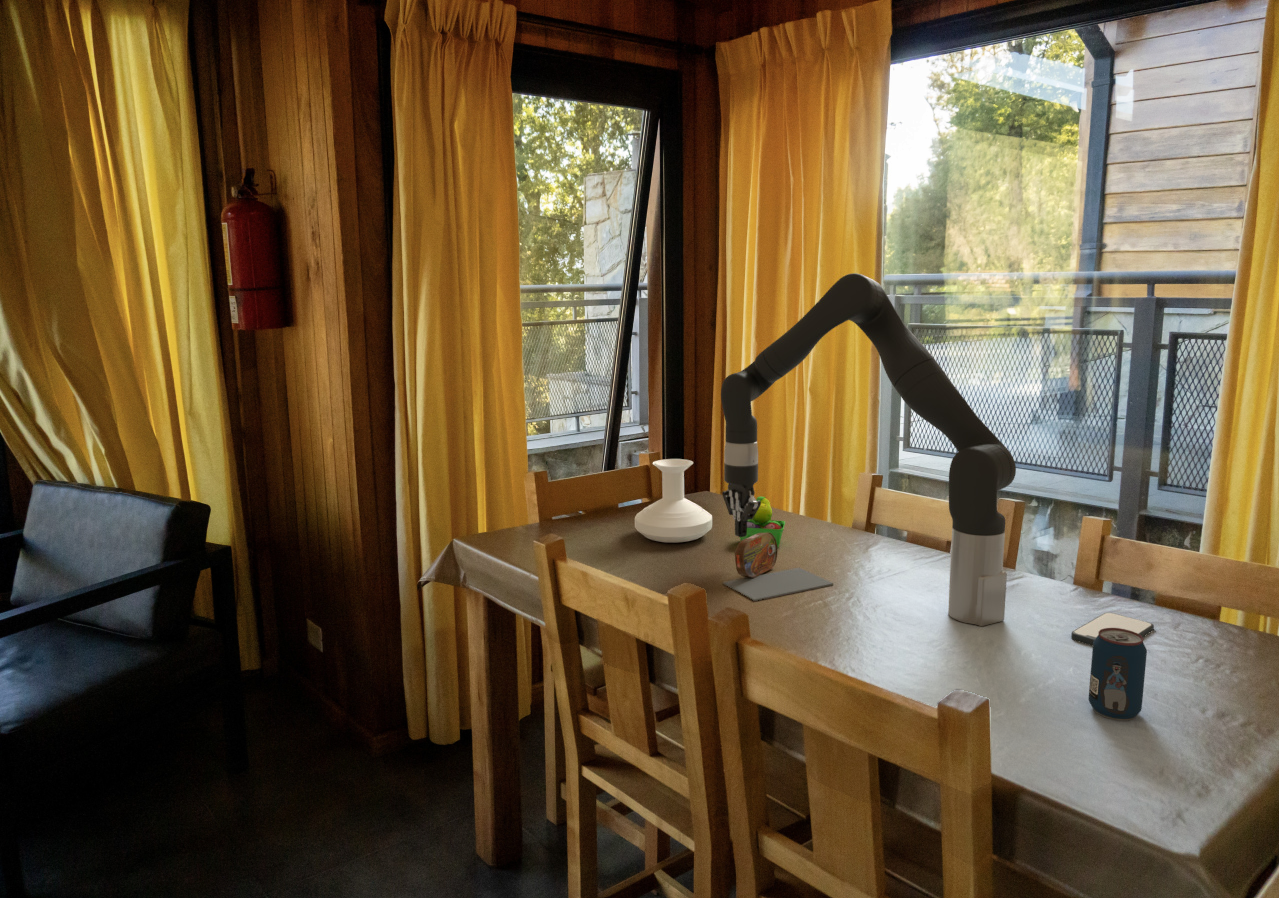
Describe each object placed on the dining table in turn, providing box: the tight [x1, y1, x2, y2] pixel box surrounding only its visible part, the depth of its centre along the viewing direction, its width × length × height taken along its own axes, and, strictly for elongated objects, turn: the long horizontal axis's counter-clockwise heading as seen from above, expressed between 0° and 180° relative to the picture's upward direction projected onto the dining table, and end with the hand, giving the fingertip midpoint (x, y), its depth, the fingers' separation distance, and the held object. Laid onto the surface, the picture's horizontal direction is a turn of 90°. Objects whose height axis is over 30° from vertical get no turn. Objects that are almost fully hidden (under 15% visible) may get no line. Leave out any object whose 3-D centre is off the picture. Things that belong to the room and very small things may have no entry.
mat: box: [722, 567, 834, 602], centre depth 186 cm, size 12×20×1 cm, turn 116°
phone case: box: [1070, 612, 1155, 646], centre depth 158 cm, size 9×2×16 cm
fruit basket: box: [739, 496, 786, 548], centre depth 215 cm, size 11×9×11 cm
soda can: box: [1088, 628, 1148, 722], centre depth 128 cm, size 7×7×12 cm
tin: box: [734, 533, 778, 578], centre depth 193 cm, size 15×3×8 cm, turn 143°
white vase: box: [634, 458, 713, 543], centre depth 222 cm, size 20×20×19 cm
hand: (740, 535), depth 198 cm, fingers closed
